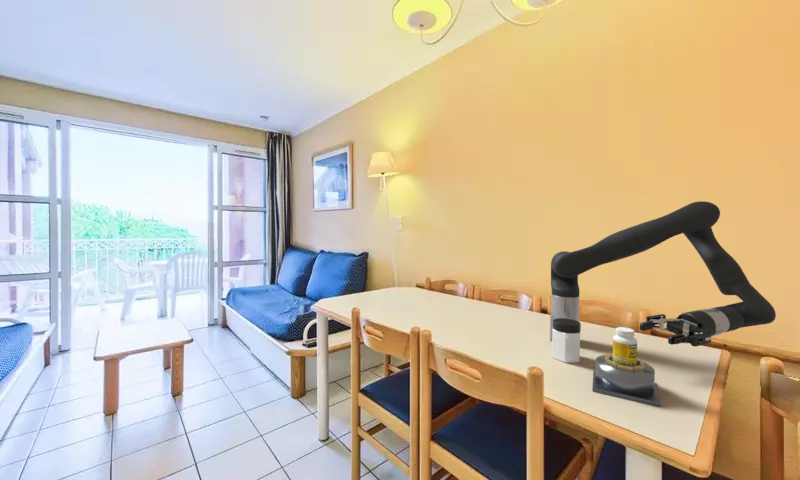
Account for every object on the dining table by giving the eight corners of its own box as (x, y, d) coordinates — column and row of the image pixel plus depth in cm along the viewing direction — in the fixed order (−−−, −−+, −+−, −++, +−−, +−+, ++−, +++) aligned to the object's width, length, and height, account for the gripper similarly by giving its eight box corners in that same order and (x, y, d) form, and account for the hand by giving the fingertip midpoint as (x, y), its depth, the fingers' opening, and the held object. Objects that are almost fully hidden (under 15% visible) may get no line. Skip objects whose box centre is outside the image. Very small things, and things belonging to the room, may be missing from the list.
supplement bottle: (618, 358, 91) (618, 325, 91) (640, 365, 87) (641, 330, 86) (608, 363, 88) (609, 328, 88) (631, 370, 84) (632, 334, 83)
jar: (573, 352, 111) (573, 317, 110) (586, 363, 102) (587, 325, 102) (546, 352, 111) (547, 318, 110) (558, 363, 103) (558, 325, 102)
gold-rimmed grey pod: (592, 391, 85) (592, 364, 85) (593, 370, 97) (594, 346, 97) (660, 406, 78) (661, 377, 78) (652, 382, 90) (653, 356, 89)
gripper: (678, 302, 100) (632, 311, 97) (732, 321, 86) (681, 332, 83) (677, 325, 101) (631, 334, 98) (730, 347, 87) (679, 359, 85)
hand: (654, 333), depth 91 cm, fingers open, 8 cm apart
